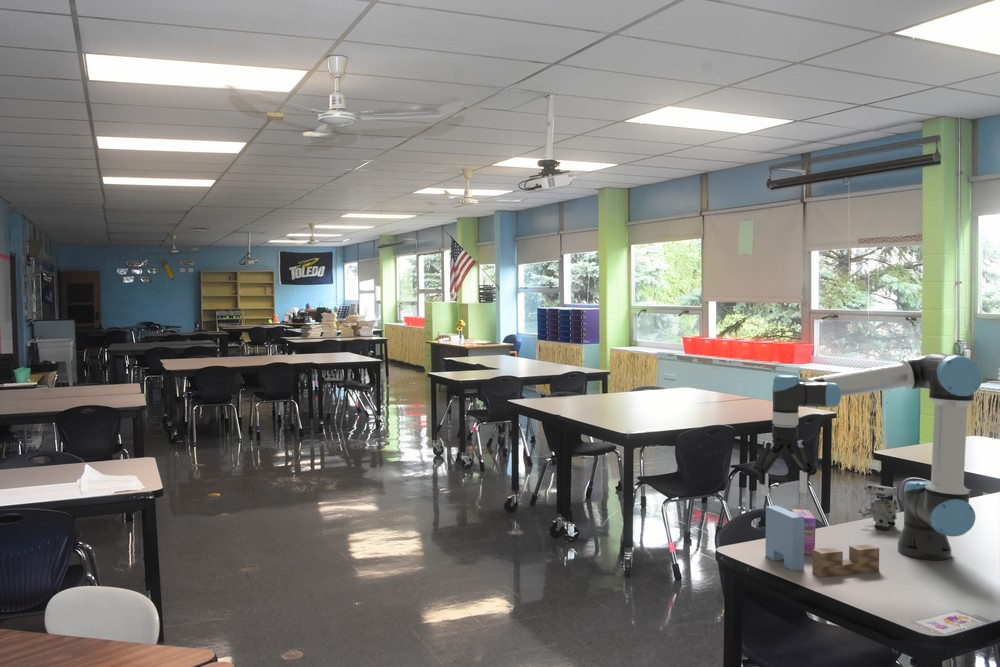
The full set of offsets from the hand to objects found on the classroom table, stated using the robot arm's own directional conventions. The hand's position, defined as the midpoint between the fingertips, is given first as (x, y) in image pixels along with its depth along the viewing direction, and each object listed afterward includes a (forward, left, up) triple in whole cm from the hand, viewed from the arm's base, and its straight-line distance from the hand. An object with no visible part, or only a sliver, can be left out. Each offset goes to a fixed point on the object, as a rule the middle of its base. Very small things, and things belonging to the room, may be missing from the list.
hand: (783, 493), depth 236 cm
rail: (-17, +4, -22) cm, 28 cm away
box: (-7, -16, -22) cm, 28 cm away
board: (0, 0, -22) cm, 22 cm away
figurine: (-36, -51, -22) cm, 66 cm away
